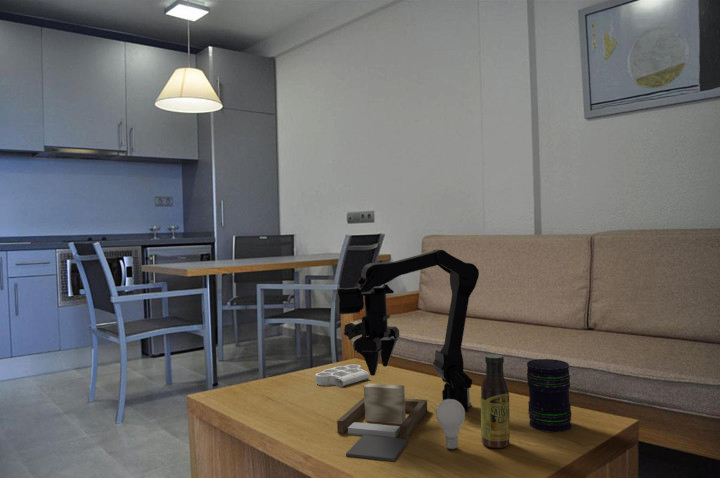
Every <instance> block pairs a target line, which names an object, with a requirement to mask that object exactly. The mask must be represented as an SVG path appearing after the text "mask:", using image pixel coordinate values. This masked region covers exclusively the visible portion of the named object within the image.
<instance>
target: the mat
mask: <svg viewBox="0 0 720 478" xmlns="http://www.w3.org/2000/svg"><path fill="white" fill-rule="evenodd" d="M408 443H409V439H408V438H407V439H401V438H397V437H396V438H388V437H377V436H366V435H361V437H360V438H359V439H358V440H357V441H356V442H355V443H354V445H352V447H351V448H349V450H347V452H346V453H345V456H346V457H350V458H360V459H369V460H378V461H386V462H387V461H388V462H395V461H396V460H397V458H398V457H399V456H400V454H401V452H402V451H403V450H404V448H406V445H407V444H408Z"/></svg>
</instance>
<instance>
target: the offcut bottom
mask: <svg viewBox="0 0 720 478" xmlns="http://www.w3.org/2000/svg"><path fill="white" fill-rule="evenodd" d="M347 435H353V436H355V435H357V436H363V435H366V436H377V437H387V436H378V435H368V434H358V433H348V432H347ZM398 436H400V432H399V433H398V434H397V436H396V437H388V438H397V437H398Z"/></svg>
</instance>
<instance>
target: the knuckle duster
mask: <svg viewBox="0 0 720 478" xmlns="http://www.w3.org/2000/svg"><path fill="white" fill-rule="evenodd" d="M370 376H371V375H370V372H369V371H367V370H364V369H362V366H361V365H360V364H354V363H353V364H347V365H340V366H334V367H332V368H326V369H324V370H322V371H320V372H317V373H315V385H317V384H318V385H317V386H323V385H324V386H336V387H339V386H340V387H341V388H342V387H344V386H347V385H352V384H355V383H359V382H363V381H365V380H369V379H370ZM340 387H339V388H340Z"/></svg>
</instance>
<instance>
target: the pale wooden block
mask: <svg viewBox="0 0 720 478" xmlns="http://www.w3.org/2000/svg"><path fill="white" fill-rule="evenodd" d="M405 395H406V392H405V385H403V384H402V385H401V384H385V383H384V384H382V383H365V385H364V386H363V398H364V404H365V413H364V421H365V422H370V423H371V422H373V423H383V424H394V425H395V424H396V425H401V424H402V423H403V422H404V420H405V419H406V418H407V416H406V415H407V414H406V413H407V412H405V398H406V396H405Z"/></svg>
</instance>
